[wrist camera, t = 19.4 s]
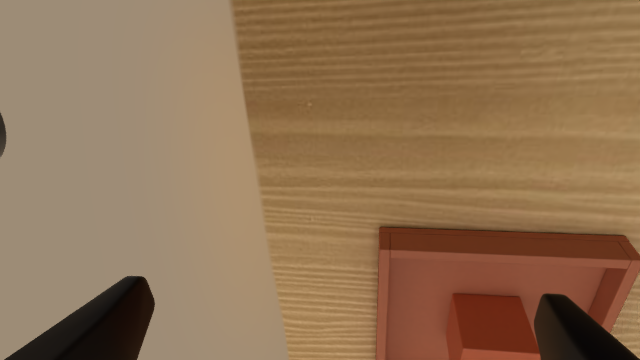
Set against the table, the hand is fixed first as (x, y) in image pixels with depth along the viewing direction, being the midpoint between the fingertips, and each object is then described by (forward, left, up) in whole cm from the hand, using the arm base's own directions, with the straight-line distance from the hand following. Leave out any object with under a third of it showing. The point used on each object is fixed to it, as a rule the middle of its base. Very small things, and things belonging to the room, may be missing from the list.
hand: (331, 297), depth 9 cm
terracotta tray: (+8, -15, -13) cm, 21 cm away
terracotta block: (+8, -15, -12) cm, 21 cm away
